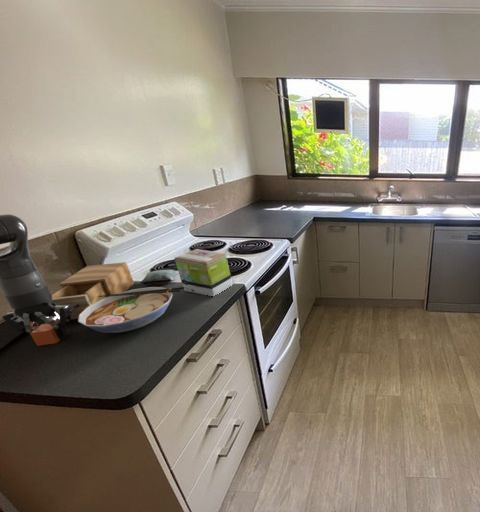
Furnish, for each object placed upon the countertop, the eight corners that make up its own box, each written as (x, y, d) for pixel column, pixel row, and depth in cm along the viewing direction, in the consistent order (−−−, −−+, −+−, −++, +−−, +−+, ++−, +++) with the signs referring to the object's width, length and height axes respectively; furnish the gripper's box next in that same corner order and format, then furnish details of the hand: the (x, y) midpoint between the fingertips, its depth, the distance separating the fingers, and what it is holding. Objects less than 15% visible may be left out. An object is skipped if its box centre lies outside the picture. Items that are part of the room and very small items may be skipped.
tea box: (183, 292, 112) (172, 257, 106) (205, 280, 120) (196, 248, 115) (213, 297, 107) (204, 261, 102) (234, 285, 116) (226, 252, 111)
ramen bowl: (60, 351, 80) (47, 327, 77) (117, 307, 101) (109, 287, 98) (159, 342, 84) (150, 319, 81) (194, 302, 105) (188, 282, 102)
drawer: (86, 323, 91) (76, 302, 88) (39, 330, 88) (27, 308, 85) (116, 295, 107) (109, 276, 104) (78, 300, 104) (70, 281, 101)
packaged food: (151, 278, 122) (148, 268, 120) (182, 275, 125) (179, 265, 123) (140, 288, 114) (136, 277, 112) (174, 285, 117) (170, 274, 115)
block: (37, 346, 82) (29, 333, 81) (48, 336, 86) (41, 324, 85) (57, 343, 84) (50, 330, 82) (67, 333, 88) (61, 321, 86)
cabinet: (114, 302, 105) (104, 278, 101) (70, 307, 101) (59, 283, 97) (134, 283, 118) (126, 262, 115) (96, 287, 115) (87, 265, 111)
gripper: (67, 278, 84) (89, 327, 90) (2, 285, 80) (30, 336, 86) (48, 290, 77) (74, 342, 84) (-24, 299, 73) (9, 352, 80)
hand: (52, 338), depth 85 cm, fingers closed on block, 4 cm apart
